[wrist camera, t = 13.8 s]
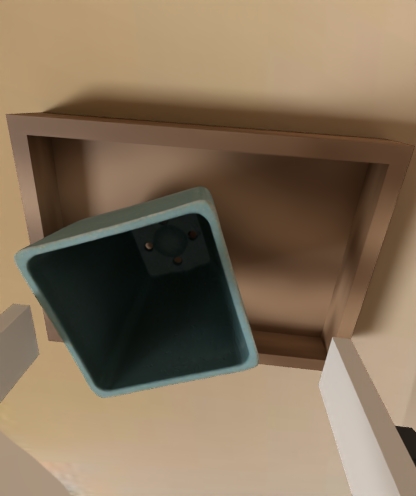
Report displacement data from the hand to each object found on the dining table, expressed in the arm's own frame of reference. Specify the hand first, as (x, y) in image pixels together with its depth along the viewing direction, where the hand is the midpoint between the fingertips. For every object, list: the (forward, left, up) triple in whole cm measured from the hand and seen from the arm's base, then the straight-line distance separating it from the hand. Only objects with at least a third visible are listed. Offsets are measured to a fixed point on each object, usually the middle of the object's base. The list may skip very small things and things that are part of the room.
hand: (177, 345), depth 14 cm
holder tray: (0, 0, -11) cm, 11 cm away
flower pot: (+1, +2, -10) cm, 10 cm away
